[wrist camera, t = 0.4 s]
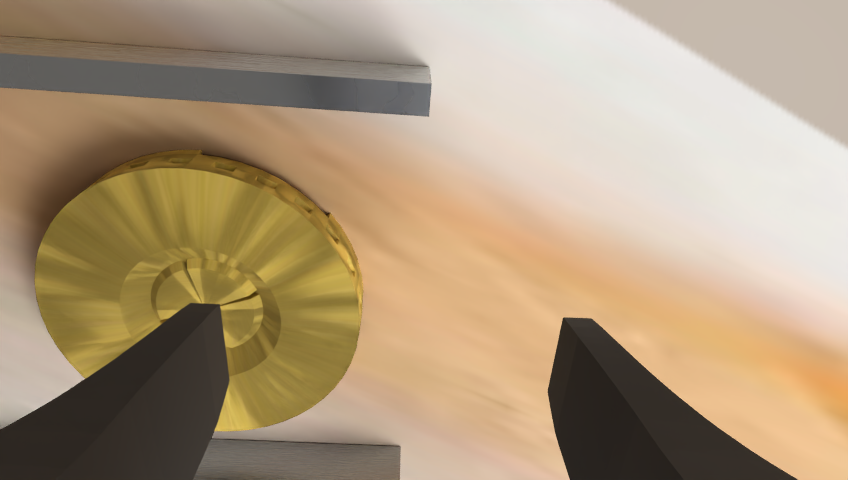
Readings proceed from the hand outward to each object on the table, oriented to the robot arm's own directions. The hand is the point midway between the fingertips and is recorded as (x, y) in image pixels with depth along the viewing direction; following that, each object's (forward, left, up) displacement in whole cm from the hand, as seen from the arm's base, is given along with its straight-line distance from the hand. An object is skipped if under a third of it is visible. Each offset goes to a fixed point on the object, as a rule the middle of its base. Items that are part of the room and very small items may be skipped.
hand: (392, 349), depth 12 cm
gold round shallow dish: (-6, +7, -11) cm, 14 cm away
